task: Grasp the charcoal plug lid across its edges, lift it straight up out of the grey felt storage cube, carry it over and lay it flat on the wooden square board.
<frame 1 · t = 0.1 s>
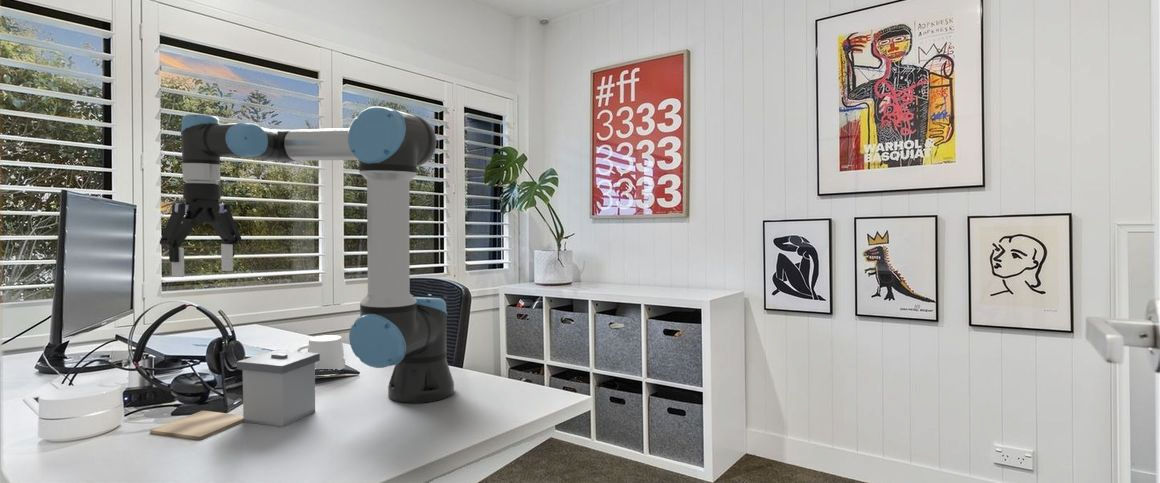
hand: (203, 273, 145), 28 cm above the table, fingers open, 13 cm apart
wooden square board: (201, 425, 124), on the table
lid: (279, 368, 129), point 10 cm above the table, touching storage cube
storage cube: (280, 416, 130), on the table
mug: (320, 374, 163), on the table
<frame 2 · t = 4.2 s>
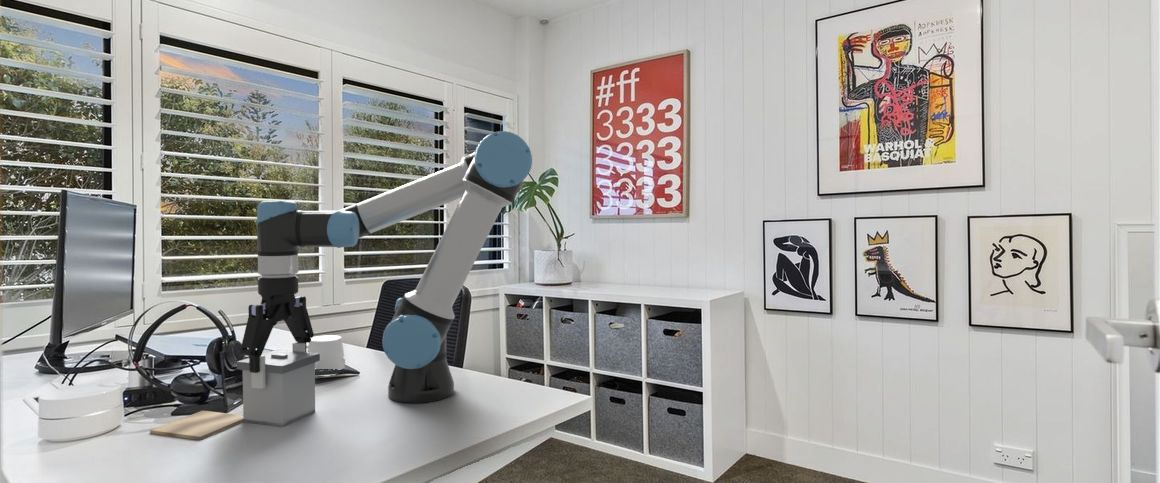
hand: (279, 379, 129), 8 cm above the table, fingers closed on lid, 11 cm apart
lid: (279, 368, 129), point 10 cm above the table, touching gripper, storage cube
everything else where it was.
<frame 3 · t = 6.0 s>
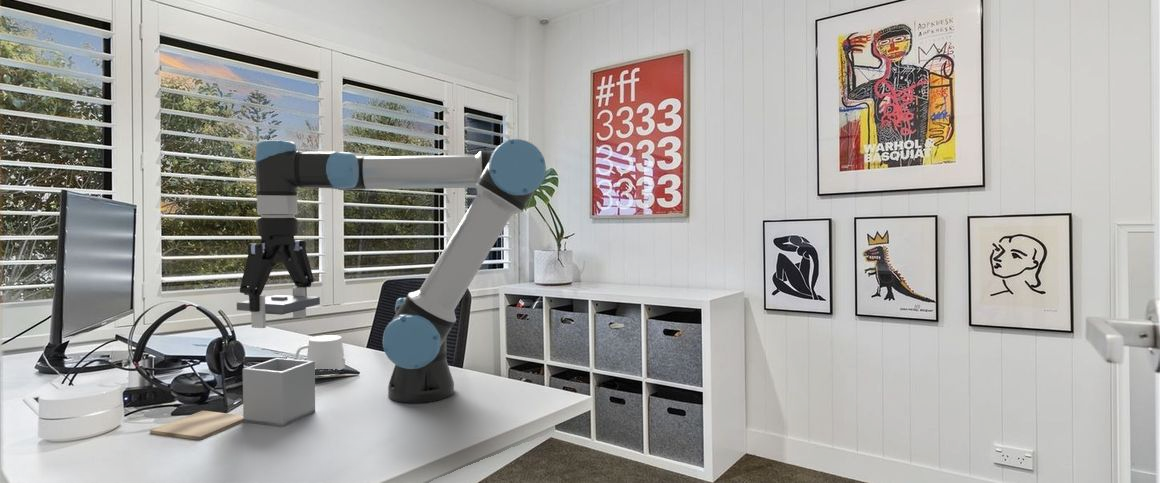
hand: (280, 322, 129), 20 cm above the table, fingers closed on lid, 11 cm apart
lid: (279, 311, 128), point 22 cm above the table, touching gripper
everything else where it was.
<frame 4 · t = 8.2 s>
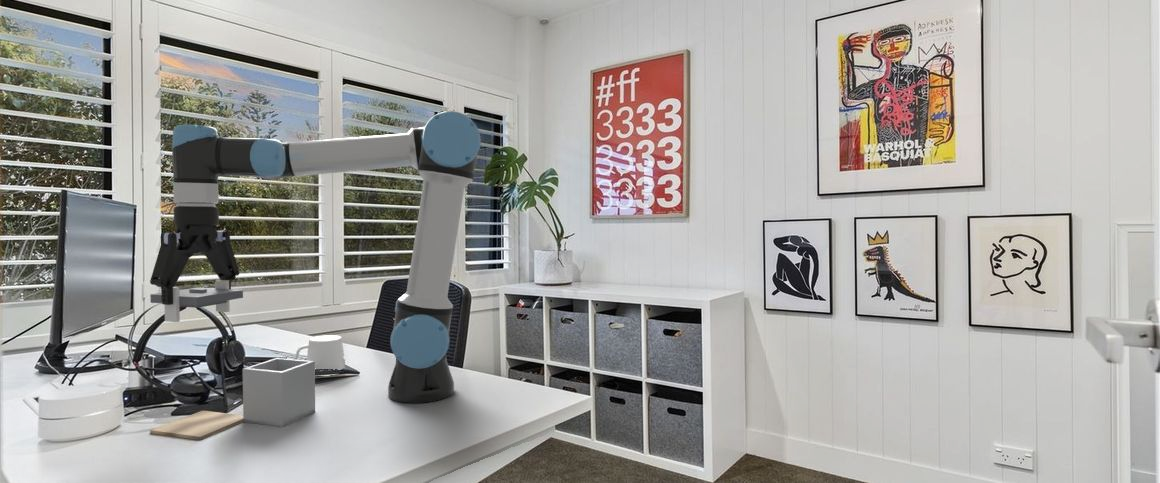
hand: (198, 316, 122), 22 cm above the table, fingers closed on lid, 11 cm apart
lid: (198, 304, 122), point 25 cm above the table, touching gripper
everything else where it was.
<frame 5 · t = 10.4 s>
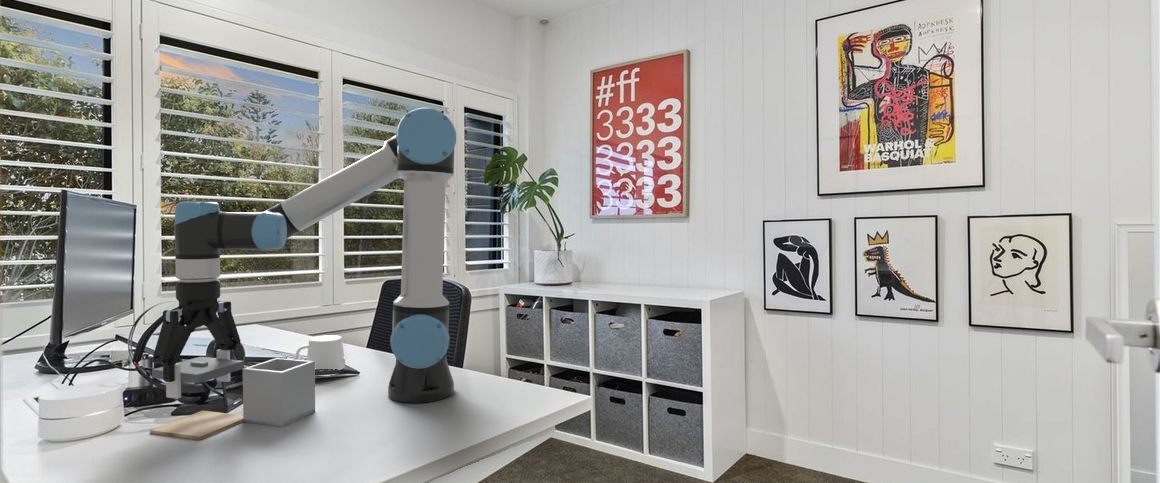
hand: (199, 388, 123), 8 cm above the table, fingers closed on lid, 11 cm apart
lid: (199, 377, 123), point 10 cm above the table, touching gripper
everything else where it was.
when the fingers open (3 cm above the table, at t = 12.5 s): lid drops 5 cm, resting on wooden square board.
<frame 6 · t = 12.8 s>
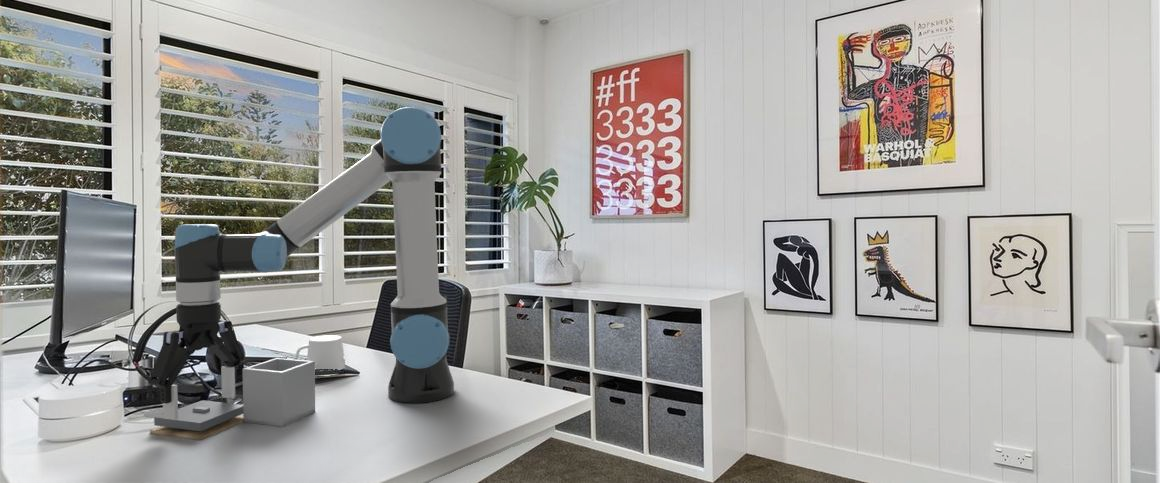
hand: (201, 407, 124), 4 cm above the table, fingers open, 13 cm apart
lid: (201, 422, 124), point 1 cm above the table, touching wooden square board
everything else where it was.
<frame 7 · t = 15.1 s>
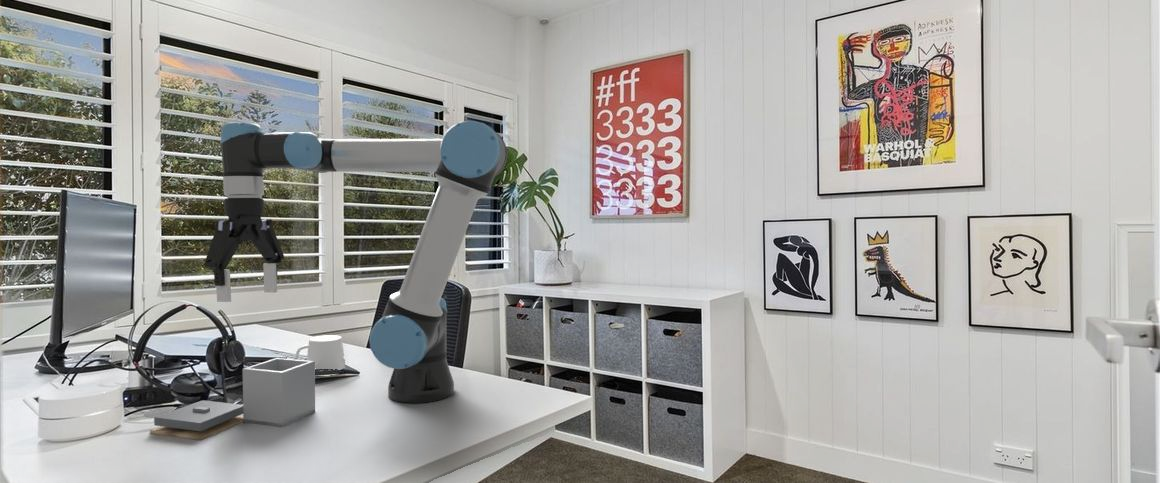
hand: (248, 296, 132), 25 cm above the table, fingers open, 13 cm apart
nothing on the table moved.
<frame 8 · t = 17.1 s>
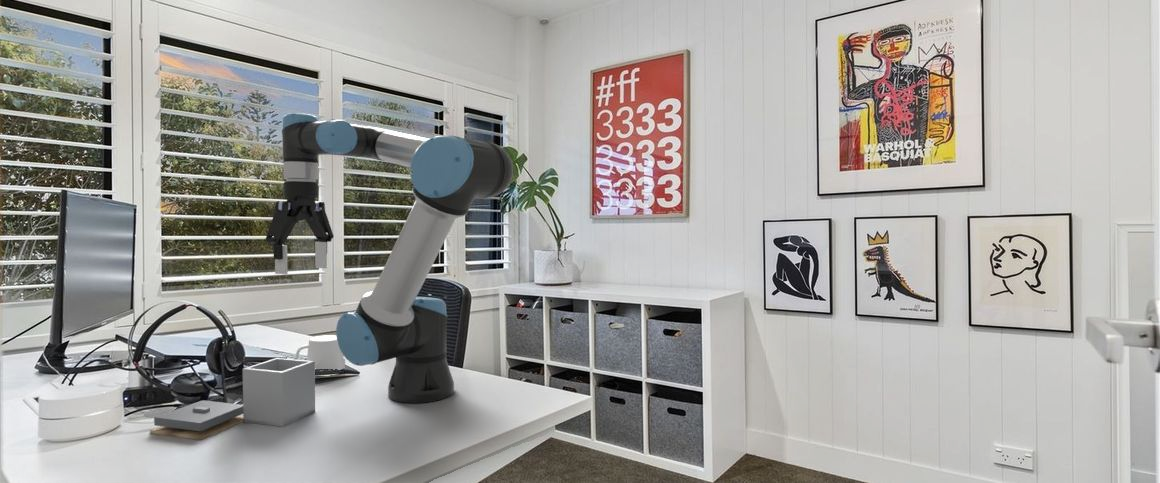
hand: (302, 271, 146), 29 cm above the table, fingers open, 13 cm apart
nothing on the table moved.
at the end: lid inside the target area on the wooden square board (0.0 cm from its centre), point 0.6 cm above the wooden square board's base; lid tilted 0°; the gripper is holding nothing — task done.
